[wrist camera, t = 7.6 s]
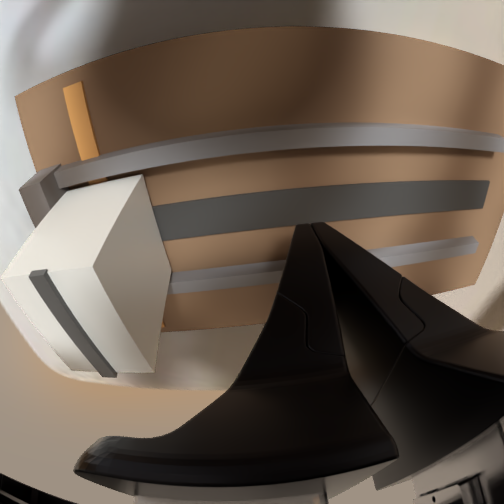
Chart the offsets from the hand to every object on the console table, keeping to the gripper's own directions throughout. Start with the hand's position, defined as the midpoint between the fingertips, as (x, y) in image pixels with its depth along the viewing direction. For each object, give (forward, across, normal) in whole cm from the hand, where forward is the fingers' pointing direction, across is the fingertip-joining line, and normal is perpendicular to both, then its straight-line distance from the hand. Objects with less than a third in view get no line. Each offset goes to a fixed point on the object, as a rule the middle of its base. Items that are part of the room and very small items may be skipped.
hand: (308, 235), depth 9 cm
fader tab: (+2, +6, 0) cm, 7 cm away
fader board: (+3, -1, 0) cm, 3 cm away
